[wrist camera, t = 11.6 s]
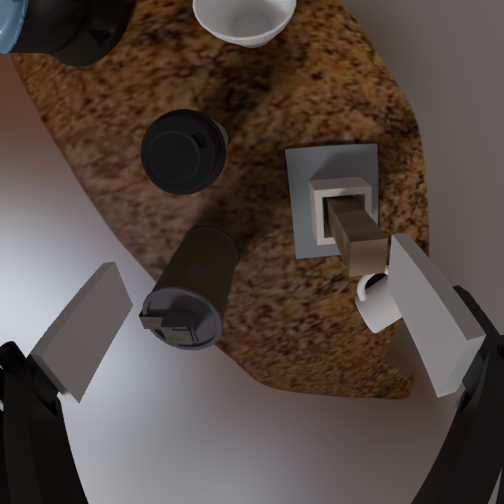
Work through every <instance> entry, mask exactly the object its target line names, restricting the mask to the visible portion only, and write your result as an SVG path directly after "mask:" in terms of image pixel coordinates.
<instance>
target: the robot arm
mask: <svg viewBox="0 0 504 504" xmlns="http://www.w3.org/2000/svg"><path fill="white" fill-rule="evenodd" d="M128 16H129V9H128V4H127V2H126V0H0V52H1V53H3V54H4V53H45V54H50V55H51V56H54V57H56V58H57V60H59V61H60V62H61V63H63V64H65V65H69V66H78V67H81V66H87V65H90V64H93V63H95V62H97V61H99V60H100V59H102V58H103V57H104V56H106V55H107V54H108V53H109V52H110V51H111V50H112V49H113V48H114V47H115V45H116V44H117V43H118V41H119V40H120V38H121V36H122V35H123V33H124V31H125V28H126V25H127V22H128ZM387 288H388V290H389V291H390V293H391V295H392V297H393V299H394V301H395V303H396V305H397V307H398V309H399V311H400V313H401V315H402V317H403V319H404V321H405V323H406V325H407V327H408V329H409V331H410V333H411V336H412V338H413V340H414V342H415V344H416V346H417V348H418V351H419V353H420V355H421V358H422V360H423V362H424V365H425V367H426V369H427V372H428V374H429V377H430V379H431V382H432V384H433V387H434V389H435V392H436V394H437V397H441V396H444V395H447V394H450V393H453V392H456V390H457V389H458V387H459V385H460V384H461V382H463V384H464V386H465V391H464V392H463V394H462V395H461V397H460V398H459V400H458V401H457V403H456V405H455V407H457V406H458V405H459V406H458V409H457V411H456V414H455V417H454V419H453V422H452V425H451V427H450V430H449V432H448V434H447V437H446V439H445V441H444V444H443V446H442V448H441V450H440V452H439V454H438V456H437V458H436V460H435V463H434V464H433V466H432V468H431V470H430V472H429V474H428V476H427V478H426V479H425V481H424V483H423V485H422V486H421V488H420V490H419V492H418V493H417V495H416V496H415V498H414V500H413V501H412V503H411V504H488V502H489V499H490V497H491V495H492V492H493V489H494V487H495V485H496V482H497V479H498V477H499V474H500V471H501V468H502V472H501V479H500V485H499V490H498V495H497V500H496V504H504V335H500V334H499V333H498V331H497V330H496V329H495V327H494V326H493V324H492V323H491V321H490V320H489V319H488V317H487V316H486V314H485V313H484V312H483V310H481V308H480V306H479V305H478V304H477V303H476V302H475V300H474V298H473V297H472V296H471V295H470V293H469V292H467V291H466V290H465V289H463V288H462V287H460V286H453V287H452V286H451V285H450V283H449V282H448V281H447V280H446V278H445V277H444V276H443V275H442V273H441V272H440V271H439V270H438V269H437V267H436V266H435V265H434V264H433V263H432V261H431V260H430V259H429V258H428V256H427V255H426V254H425V253H424V252H423V251H422V249H421V248H420V247H419V246H418V245H417V244H416V243H415V242H414V240H413V239H412V238H411V237H410V236H409V235H408V234H407V233H402V234H392V241H391V252H390V262H389V271H388V280H387ZM132 307H133V304H132V302H131V300H130V298H129V296H128V293H127V291H126V288H125V286H124V283H123V281H122V278H121V276H120V273H119V271H118V268H117V266H116V263H115V262H109V263H103V264H102V265H101V266H100V267H99V269H98V270H97V271H96V272H95V273H94V274H93V275H92V276H91V278H90V279H89V280H88V281H87V282H86V283H85V284H84V286H83V287H82V288H81V289H80V290H79V292H78V293H77V294H76V295H75V296H74V297H73V299H72V300H71V301H70V302H69V304H68V305H67V306H66V307H65V308H64V310H63V311H62V312H61V313H60V315H59V316H58V317H57V318H56V320H55V321H54V322H53V323H52V324H51V326H50V327H49V328H48V329H47V331H46V332H45V333H44V335H43V337H41V339H40V340H39V341H38V343H37V344H36V345H35V347H34V348H33V350H32V351H31V353H30V354H29V355H28V357H27V358H25V356H24V355H23V353H22V352H21V350H20V349H19V348H18V346H17V345H16V343H15V342H13V341H9V342H6V343H5V344H3V345H2V346H1V347H0V366H1V367H2V368H3V369H1V367H0V403H1V404H2V405H3V411H2V410H1V409H0V504H88V501H87V498H86V496H85V493H84V490H83V488H82V485H81V482H80V479H79V476H78V473H77V470H76V466H75V463H74V459H73V456H72V453H71V449H70V445H69V440H68V436H67V432H66V428H65V423H64V418H63V413H62V407H61V402H60V400H59V399H58V397H57V394H58V392H60V393H61V394H62V395H63V396H64V397H65V398H66V400H69V401H72V402H75V403H80V401H81V399H82V396H83V395H84V393H85V391H86V389H87V387H88V385H89V383H90V381H91V379H92V377H93V376H94V374H95V372H96V370H97V368H98V366H99V364H100V362H101V361H102V359H103V357H104V355H105V353H106V351H107V350H108V348H109V346H110V344H111V343H112V341H113V339H114V337H115V335H116V334H117V332H118V330H119V329H120V327H121V325H122V323H123V322H124V320H125V318H126V317H127V315H128V313H129V312H130V310H131V308H132Z"/></svg>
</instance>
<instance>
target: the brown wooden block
mask: <svg viewBox="0 0 504 504" xmlns="http://www.w3.org/2000/svg"><path fill="white" fill-rule="evenodd" d="M324 201H325V220H326V222H327V224H328V226H329V229H330V231H331V233H332V235H333V238H334V240H335V242H336V245H337V247H338V249H339V252H340V254H341V257H342V259H343V262H344V264H345V266H346V269H347V271H348V274H349V276H350V277H353V276H361V275H370V274H378V273H385V267H386V257H387V245H388V238H387V237H386V235H385V234H384V233H383V232H382V230H381V229H380V228H379V226H378V225H377V224H376V223H375V221H374V220H373V219H372V218H371V217H370V215H369V214H368V213H367V212H366V211H365V209H364V208H363V207H362V206H361V205H360V203H359V202H358V201H357V200H356V199H355V198H354V196H353V195H343V196H330V197H324Z"/></svg>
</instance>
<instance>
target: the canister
mask: <svg viewBox="0 0 504 504" xmlns="http://www.w3.org/2000/svg"><path fill="white" fill-rule="evenodd" d="M237 262H238V252H237V248H236V245H235V244H234V242H233V241H232V239H231V238H230V237H229V236H228V235H227V234H225V233H224V232H222V231H220V230H218V229H215V228H212V227H199V228H196V229H193V230H191V231H189V232H188V233H187V234H186V235H185V236H184V237H183V238H182V240H181V242H180V245H179V247H178V249H177V250H176V252H175V253H174V255H173V257H172V258H171V260H170V262H169V263H168V265H167V267H166V268H165V270H164V272H163V273H162V275H161V277H160V278H159V280H158V282H157V283H156V285H155V287H154V288H153V290H152V292H151V293H150V294H149V295H148V296H147V297H146V299H145V301H144V303H143V309H142V311H141V313H140V314H139V318H140V320H141V322H142V325H143V327H144V329H150V330H151V332H153V334H154V335H155V336H156V337H158V338H159V339H160V340H162V341H163V342H165V343H167V344H168V345H171V346H173V347H176V348H180V349H184V350H200V349H204V348H207V347H210V346H212V345H213V344H214V343H215V342H217V341H218V339H219V338H220V337H221V334H222V332H223V316H224V312H225V307H226V303H227V299H228V294H229V290H230V285H231V281H232V277H233V272H234V269H235V268H236V265H237Z"/></svg>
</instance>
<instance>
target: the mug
mask: <svg viewBox="0 0 504 504" xmlns="http://www.w3.org/2000/svg"><path fill="white" fill-rule="evenodd" d="M388 271H389V266H388V265H386V267H385V274H387V275H386V276H385V277H383V278H382V279H381V280H379V281H378V282H376V283H375V284H373V285H372V286H370V287H369V288H367V289H366V290H365V284H366V282H367V281H368V280H369V279H370V278H371V277H372V276H373V275H375V274H370V275H363V276H362V277H361V279H360V281H359V283H358V286H357V293H358V295H356V296H355V302H356V305H357V307H358V309H359V311H360V313H361V315H362V317H363V319H364V320H365V322H366V324H367V325H368V327H369V328H370V329H371V330H372V331H373V332H374V333H377V332H379V331H381V330H382V329H384V328H385V327H387V326H389V325H390V324H392V323H393V322H395V321H396V320H398V319H400V318H401V317H402V315H401V313H400V311H399V309H398V307H397V305H396V303H395V301H394V299H393V297H392V295H391V293H390V291H389V290H388V288H387V280H388Z"/></svg>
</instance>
